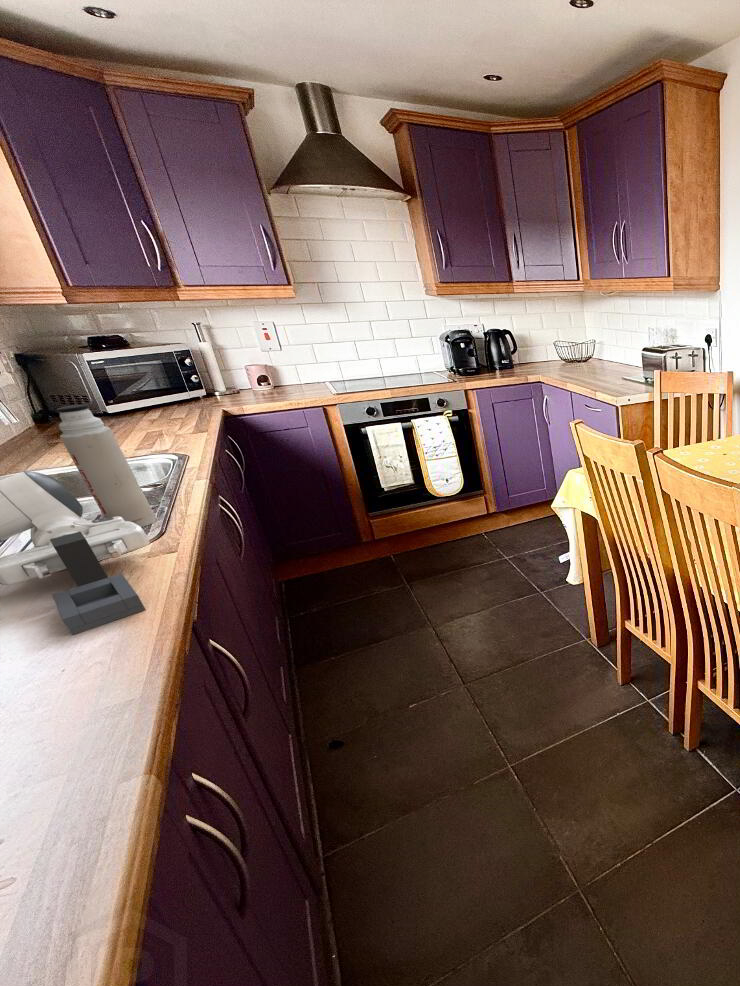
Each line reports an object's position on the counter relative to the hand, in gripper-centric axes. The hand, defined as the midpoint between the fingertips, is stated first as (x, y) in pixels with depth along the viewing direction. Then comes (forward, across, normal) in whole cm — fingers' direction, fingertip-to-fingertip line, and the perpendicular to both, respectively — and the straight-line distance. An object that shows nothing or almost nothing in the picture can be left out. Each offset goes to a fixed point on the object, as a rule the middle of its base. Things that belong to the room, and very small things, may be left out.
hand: (80, 562), depth 105 cm
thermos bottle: (-37, +11, +6) cm, 39 cm away
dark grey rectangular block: (-1, 0, +5) cm, 5 cm away
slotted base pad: (+12, -1, +5) cm, 13 cm away
